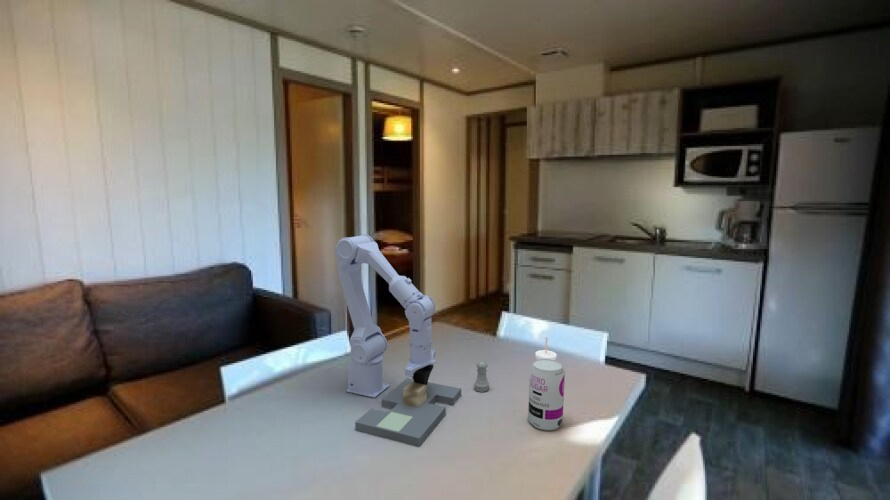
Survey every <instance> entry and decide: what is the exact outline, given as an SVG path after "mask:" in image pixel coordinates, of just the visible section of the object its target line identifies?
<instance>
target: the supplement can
mask: <svg viewBox="0 0 890 500" xmlns="http://www.w3.org/2000/svg"><path fill="white" fill-rule="evenodd" d="M565 373H566V372H565V369H564V367H563V364H562V363H561V362H559V361H557V360H556V359H555V360H550V359H539V360H534V361H533V362H532V365H531V366H530V368H529V379H528V381H529V382H528V383H529V384H528V413H527V414H528V415H527V419H528V421H529V423H530V424H531V425H532V426H533V427H535V428H536V429H538V430H543V431H549V432H550V431H555V430H557V429H559V428H560V427H561V426H562V425H563V423H564V422H563V420H564V399H565V398H564V397H565V396H564V395H565V377H566V376H565Z"/></svg>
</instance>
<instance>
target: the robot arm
mask: <svg viewBox="0 0 890 500" xmlns="http://www.w3.org/2000/svg"><path fill="white" fill-rule="evenodd" d="M333 250H334V253H335V256H336V271H337V275H338V278H339V281H340V285H341V289H342V292H343V295H344V299H345V302H346V306H347V309H348V313H349V316H350V319H351V323H352V327H353V329H354V330H353V332H352V334H351V336H350V338H349V341H350V355H351V357H352V358H351V359H350V361H349V363H348V366H347V385H348V386H347V389H346V392H347V393H352V394H356V395H361V396H364V397H370V398H373V399H375V398H377V397H378V396H379V395H380V394H381V393H383V392H384V391H385V390H386V389H387V388H389V387H390V384H389V383H384V366H383V365H384V364H383V362H384V361H383V360H384V353H385V352H386V351H387V349H388V340H387V338H386V336H385V335H384V333H382V330H381V327H380V326H378V325H376V324H375V323H374V321H373V318H372V314H371V310H370V307H369V304H368V300H367V298H366V293H365V290H364V286H363V283H362V279H361V275H360V273H359V270H360V269H361V268H360V267H362V265H363V264H365V265H370V266H371V268H372V269H374V270H375V271H376V273H377V274H379V275H380V277H381V278H383V279H384V280H385V282H386V283H387V284H388V291H389V293H391V294H392V296H393V297H394V298H395V299H396V300H397V302H399V303H400V305H401V306H402V308H404V309H405V310H404V314H405V317H406V319H407V321H408V326H409V359H408V362H407V365H406V367H405V368H404V377H406V378H411V379H413V380H414V383H419V384H424V385H427V383H428V382H429V378H430V375H431V373H432V372H433V369H434V365H435V364H436V362H437V361H436V359H435V358H436V350H435V349H432V346H433V344H432V343H433V342H432V341H433V339H432V334H433V333H432V330H433V328H432V325H433V324H432V316H433V315H434V313H435V312H436V304H435V302H434V300H433V299H432V297H431V296H430V295H429V296H428V295H424V293H422V292H420V290H419V289H418V288H417V287H416V286H415V285H414V284H413V283H412V281H413V280H412V279H410V277H408V278H407V276H405V275H399V274H398V272H397V270H395V269H394V268H393V266H392V264H390V262H389V261H388V260H387V258H386V257H385V256H384V255H383V253H382V252H381V251H380V249H379V245H378V243H377V242H376V241H374V239H373V237H371V236H370V235H369V234H360V235H356V236H349V237H342V238H340V239H339V241H338V242H337V244H336V245H335V247H334V249H333Z"/></svg>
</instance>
